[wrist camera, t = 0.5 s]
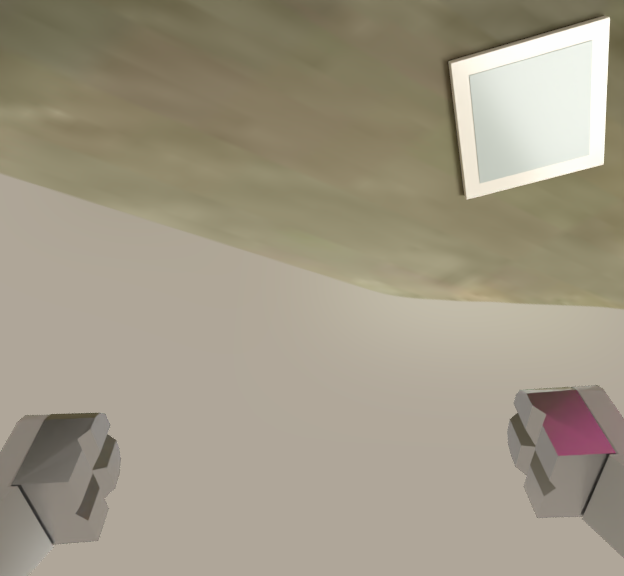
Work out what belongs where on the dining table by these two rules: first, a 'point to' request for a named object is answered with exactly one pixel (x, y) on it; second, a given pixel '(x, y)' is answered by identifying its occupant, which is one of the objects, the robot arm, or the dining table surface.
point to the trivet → (532, 107)
